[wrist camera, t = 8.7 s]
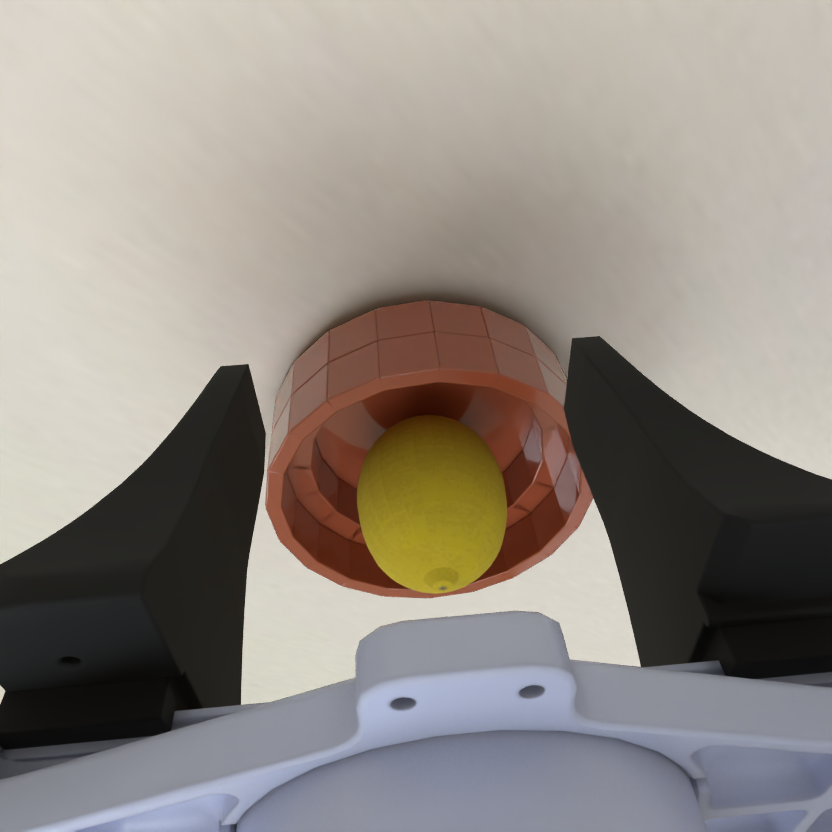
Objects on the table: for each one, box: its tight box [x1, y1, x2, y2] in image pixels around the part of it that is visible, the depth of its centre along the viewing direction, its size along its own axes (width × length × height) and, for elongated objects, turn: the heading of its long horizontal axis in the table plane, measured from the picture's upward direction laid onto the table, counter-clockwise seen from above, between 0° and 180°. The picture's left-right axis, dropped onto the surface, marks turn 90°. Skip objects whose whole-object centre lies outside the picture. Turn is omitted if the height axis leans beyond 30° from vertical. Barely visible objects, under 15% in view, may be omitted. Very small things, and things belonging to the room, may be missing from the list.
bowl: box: [265, 300, 593, 598], centre depth 28 cm, size 12×12×5 cm
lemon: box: [357, 415, 507, 594], centre depth 26 cm, size 6×6×8 cm
